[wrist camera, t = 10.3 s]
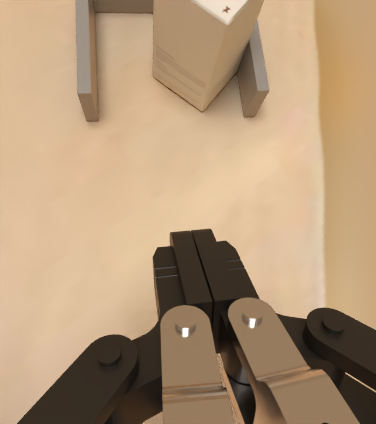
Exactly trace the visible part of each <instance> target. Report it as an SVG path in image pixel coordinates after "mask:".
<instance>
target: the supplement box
mask: <svg viewBox="0 0 376 424" xmlns="http://www.w3.org/2000/svg"><path fill="white" fill-rule="evenodd" d="M263 2H264V0H154V5H153V77H154V78H156V79H157V80H159V81H160V82H161V83H163V84H164V85H165V86H167V87H168V88H170V89H171V90H172V91H174V92H175V93H177V94H178V95H179V96H181V97H182V98H184V99H185V100H186V101H188V102H189V103H190V104H192V105H193V106H195V107H196V108H197V109H199V110H200V111H202V112H203V111H204V110H205V108H206V107H207V106H208V105H209V104H210V103H211V101H212V100H213V99H214V98H215V97H216V96H217V94H218V93H219V92H220V91H221V90H222V89H223V87H224V86H225V85H226V84H227V83H228V82H229V80H230V79H231V78H232V77H233V76H234V75H235V73H236V72H237V71H238V68H239V65H240V62H241V60H242V57H243V55H244V52H245V49H246V46H247V44H248V41H249V39H250V36H251V33H252V31H253V28H254V26H255V23H256V20H257V18H258V15H259V12H260V10H261V7H262V4H263Z"/></svg>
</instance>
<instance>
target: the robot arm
mask: <svg viewBox="0 0 376 424" xmlns="http://www.w3.org/2000/svg"><path fill="white" fill-rule="evenodd" d="M153 270H154V288H155V296H156V305H157V313H158V322H157V324H156V325H155V327H154V328H153V329H152V330H151V331H150V332H148V333H147V334H145V335H143V336H141V337H139V338H136V339H134V340H132V341H131V340H130V339H129V338H127V337H125V336H122V335H107V336H104V337H101V338H99V339H97V340H95V341H94V342H93V343H91V344H90V345H89V346H88V347H87V348H86V350H85V351H84V352H83V353H82V354H81V355H80V356H79V357H78V358H77V359H76V360H75V361H74V362H73V364H72V365H71V366H70V367H69V368H68V369H67V370H66V371H65V372H64V373H63V374H62V375H61V377H60V378H59V379H58V380H57V381H56V382H55V383H54V384H53V385H52V386H51V387H50V388H49V389H48V391H47V392H46V393H45V394H44V395H43V396H42V397H41V398H40V399H39V400H38V401H37V402H36V404H35V405H34V406H33V407H32V408H31V409H30V410H29V411H28V412H27V413H26V414H25V415H24V416H23V418H22V419H21V420H20V421H19V422H18V423H17V424H142V423H143V422H144V421H146V420H147V419H149V418H151V417H153V416H154V415H156V414H158V413H160V412H162V411H163V424H234V419H233V414H232V409H231V404H230V400H229V396H230V399H231V401H232V404H233V407H234V410H235V413H236V415H237V418H238V421H239V424H376V393H375V392H374V391H372V390H370V389H369V388H367V387H366V386H364V385H362V384H361V383H359V382H358V381H356V380H354V379H353V378H351V377H350V376H348V375H346V374H345V372H346V373H348V374H350V375H351V376H353V377H355V378H356V379H358V380H360V381H361V382H363V383H364V384H366V385H367V386H369V387H371V388H372V389H374V390H376V330H374V329H373V328H371V327H368V326H367V325H365V324H363V323H361V322H359V321H357V320H355V319H353V318H352V317H350V316H348V315H346V314H344V313H342V312H340V311H338V310H335V309H330V308H317V309H315V310H313V311H311V312H310V313H309V314H308V316H307V319H303V318H295V317H288V316H283V315H280V314H277V313H275V311H274V310H273V308H272V307H271V306H270V305H269V304H267V303H266V302H264V301H262V300H260V299H259V297H258V295H257V293H256V290H255V288H254V286H253V284H252V282H251V280H250V278H249V276H248V274H247V272H246V270H245V269H244V265H243V263H242V261H241V260H240V257H239V255H238V253H237V251H236V249H235V248H234V247H233V246H232V245H230V244H229V243H228V242H227V241H219V242H216V239H215V237H214V235H213V232H212V230H211V229H202V230H191V232H190V231H180V232H170V246H168V247H157V249H156V251H155V254H154V256H153ZM217 353H220V354H221V358H222V361H223V368H222V376H223V379H224V382H225V385H226V388H227V390H228V392H227V390H226V388H223V386H222V382H221V377H220V372H219V367H218V362H217V356H216V354H217ZM228 393H229V396H228Z"/></svg>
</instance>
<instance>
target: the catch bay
mask: <svg viewBox="0 0 376 424" xmlns="http://www.w3.org/2000/svg"><path fill="white" fill-rule="evenodd" d="M153 5H154V0H76V44H77V94H78V97H79V99H80V102H81V105H82V108H83V111H84V114H85V117H86V120H87V121H98V94H97V66H96V38H95V12H117V13H153ZM237 75H238V81H239V88H240V95H241V101H242V108H243V115H244V117H254V116H255V114H256V113H257V111H258V109H259V107H260V106H261V104H262V102H263V101H264V99H265V97H266V96H267V94H268V92H269V85H268V79H267V74H266V68H265V62H264V56H263V50H262V45H261V39H260V33H259V27H258V22H257V20H256V23H255V26H254V28H253V31H252V33H251V36H250V39H249V41H248V44H247V46H246V49H245V52H244V55H243V57H242V60H241V62H240V65H239V68H238V71H237Z"/></svg>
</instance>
